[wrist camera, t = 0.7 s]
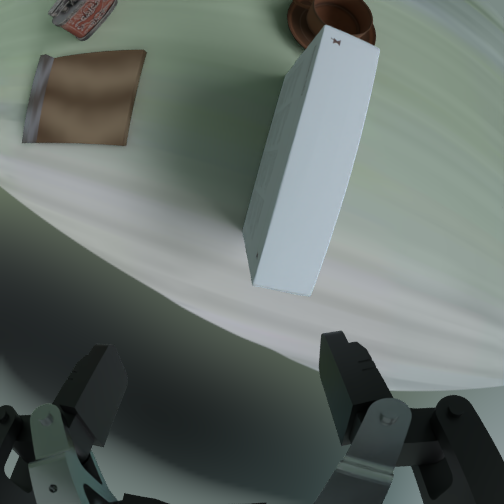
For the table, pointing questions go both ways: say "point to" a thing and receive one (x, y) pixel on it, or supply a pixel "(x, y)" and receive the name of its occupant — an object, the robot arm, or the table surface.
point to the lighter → (81, 15)
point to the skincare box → (308, 161)
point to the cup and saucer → (330, 19)
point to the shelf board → (83, 98)
